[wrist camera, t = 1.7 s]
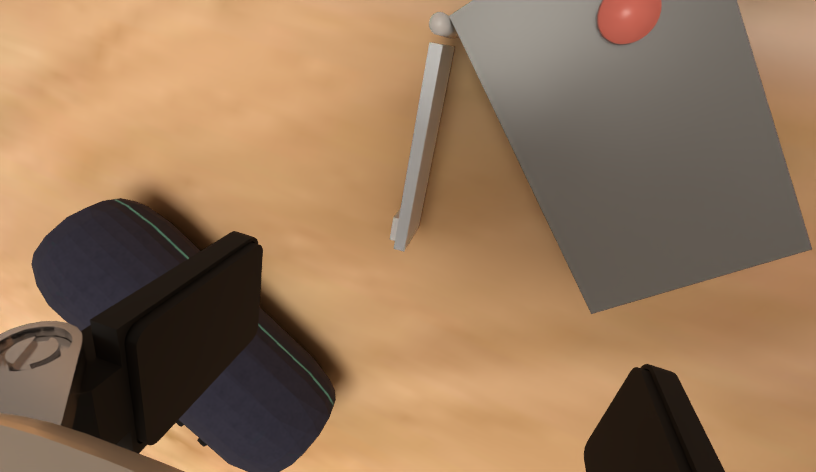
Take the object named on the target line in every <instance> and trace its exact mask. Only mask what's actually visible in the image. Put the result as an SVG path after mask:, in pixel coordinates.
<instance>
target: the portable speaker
mask: <svg viewBox="0 0 816 472" xmlns="http://www.w3.org/2000/svg"><path fill="white" fill-rule="evenodd" d="M198 252H200V250H199V249H198V248H197V247H196V246H195V245H194V244H193V243H192V242H191V241H190V240H189V239H187V238H186V237H185V236H184V235H183V234H182V233H181V232H180V231H179V230H178V229H177V228H176V227H175V226H174V225H173V224H172V223H170V222H169V221H167V220H166V219H165V218H163V217H162V216H160V215H159V214H158V213H156V212H155V211H153V210H152V209H151V208H149V207H147V206H145V205H143V204H140V203H138V202H135V201H131V200H126V199H121V198H120V199H113V200H106V201H102V202H99V203H97V204H94V205H92V206H89V207H87V208H85V209H83V210H81V211H79V212H77V213H75V214H73V215H71V216H69V217H67V218H66V219H65V220H63V221H62V222H61V223H60V224H59V225H58V226H57V227H55V228H54V229H53V230H52V231H51V232H50V233H49V234H48V235H46V236H45V238H44V239H43V241H42V242H41V243H40V245H39V246H38V248H37V249H36V251H35V252H34V254H33V259H32V268H33V272H34V276H35V280H36V284H37V287H38V288H39V290H40V292H41V293H42V295H43V297H44V298H45V300H46V302H47V303H48V305H49V306H50V307H51V308H52V309H53V310H54V311H55V312H56V313H57V314H59V315H60V316H61V317H62V318H63V319H64V320H65V321H66V322H68V323H69V324H71V325H73V326H75V327H77V328H78V329H79V330H80V331H82V330H83V329H85V328H86V327H88V326H90V325H91V324H90V319H92V318H93V317H95V316H97V315H98V314H100V313H101V312H103V311H105V310H106V309H108V308H109V307H111V306H113V305H114V304H116V303H118V302H119V301H121V300H122V299H124V298H126V297H127V296H129V295H131V294H132V293H134V292H135V291H137V290H139V289H140V288H142V287H143V286H145V285H147V284H148V283H150V282H152V281H153V280H155V279H156V278H158V277H160V276H161V275H163V274H164V273H166V272H168V271H169V270H171V269H173V268H174V267H176V266H177V265H179V264H181V263H182V262H184V261H186V260H187V259H189V258H190V257H192V256H194V255H195V254H197V253H198ZM334 403H335V390H334V388H333V385H332V383H331V381H330V379H329V378H328V376H327V375H326V374H325V372H324V371H323V370H322V369H321V367H320V366H319V365H318V363H317V362H316V361H315V359H314V358H313V357H312V356H311V355H310V354H308V353H307V352H306V351H305V350H304V349H303V348H302V347H301V346H300V345H299V344H298V343H297V342H296V341H295V340H294V339H293V338H292V337H291V336H290V335H289V334H287V333H286V332H285V331H284V330H283V329H282V328H281V327H280V326H279V325H278V324H277V323H276V322H275V321H274V320H273V319H272V318H271V317H270V316H269V315H267V314H266V313H265V312H264V311H263V310H262V309H261V308H260V307H259V322H258V330H257V333H256V335H255V337H254V338H253V340H252V341H251V342H250V343H249V344H248V345H247V346H246V348H245V349H244V350H243V351H242V352H241V353H240V354H239V355H238V356H237V357H236V358H235V359H234V360H233V361H232V363H231V364H230V365H229V366H228V367H227V368H226V369H225V370H224V371H223V372H222V373H221V374H220V375H219V377H218V378H217V379H216V380H215V381H214V382H213V383H212V384H211V385H210V386H209V387H208V388H207V389H206V391H205V392H204V393H203V394H202V395H201V396H200V397H199V398H198V399H197V400H196V401H195V402H194V403H193V404H192V406H191V407H190V408H189V409H188V410H187V411H186V412H185V413H184V414H183V415H182V416H181V417H180V418H179V420H178V421H177V422H176V423H177V424H178V425H179V426H181V427H182V426H183V425H185V426H186V427H187V428H188V429H190V430H191V431H192V432H193V433H194V434H195V435H196V436H198V437H199V439H198V440H197V441H198V442H199V443H200V444H201V445H202V446H206V445H208V446H209V447H210V448H211V449H212V450H214V451H215V452H216V453H217V454H218V455H219V456H220V457H222V458H223V459H224V460H225V461H226V462H227V463H228V464H230V465H233V466H235V467H238V468H240V469H243V470H245V471H247V472H280V471H282V470H284V469H285V468H287V467H289V466H290V465H292V464H293V463H294V462H295V461H296V460H297V459H298V458H299V457H300V456H302V455H303V454H304V453H305V451H306V450H307V449H308V448H309V447H310V445H311V444H312V443H313V442H314V441H315V439H316V438H317V437H318V436H319V434H320V433H321V431H322V429H323V428H324V426H325V424H326V422H327V421H328V419H329V417H330V414H331V411H332V409H333V406H334Z"/></svg>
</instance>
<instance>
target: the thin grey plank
mask: <svg viewBox="0 0 816 472" xmlns="http://www.w3.org/2000/svg"><path fill="white" fill-rule="evenodd" d="M454 49H455V47H454V46H449V45H444V44H437V43H431V42H430V43H429V48H428V54H427V60H426V66H425V71H424V77H423V83H422V88H421V94H420V100H419V106H418V111H417V117H416V123H415V129H414V134H413V140H412V146H411V152H410V157H409V163H408V169H407V175H406V180H405V186H404V192H403V198H402V203H401V208H400V210H399V211H398V212H397V213H396V215H395V216H394V217H393V223H392V229H391V235H390V240H394V241H395V244H394V249H397V250H400V251H405V249H406V248H407V246H408V244H409V243H410V241H411V239H412V238H413V236H414V234H415V233H416V231H417V229H418V228H419V224H420V219H421V214H422V209H423V204H424V199H425V194H426V189H427V184H428V179H429V174H430V169H431V164H432V159H433V154H434V149H435V144H436V139H437V134H438V129H439V124H440V119H441V114H442V109H443V104H444V99H445V94H446V89H447V84H448V79H449V74H450V69H451V64H452V59H453V54H454Z"/></svg>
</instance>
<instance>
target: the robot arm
mask: <svg viewBox="0 0 816 472" xmlns="http://www.w3.org/2000/svg"><path fill="white" fill-rule="evenodd" d="M262 256H263V248H262V246H261V245H258V241H257V239H256V238H255V237H252V236H249V235H245V234H242V233H239V232H235V231H233V232H231V233H229V234H228V235H226V236H224V237H223V238H221V239H219V240H218V241H216V242H215V243H213V244H211V245H210V246H208V247H207V248H205V249H203V250H202V251H200V252H198V253H197V254H195V255H194V256H192V257H190V258H189V259H187V260H186V261H184V262H182V263H181V264H179V265H177V266H176V267H174V268H173V269H171V270H169V271H168V272H166V273H164V274H163V275H161V276H160V277H158V278H156V279H155V280H153V281H152V282H150V283H148V284H147V285H145V286H143V287H142V288H140V289H139V290H137V291H135V292H134V293H132V294H131V295H129V296H127V297H126V298H124V299H122V300H121V301H119V302H118V303H116V304H114V305H113V306H111V307H109V308H108V309H106V310H105V311H103V312H101V313H100V314H98V315H97V316H95V317H93V318H92V319H90V324H91V325H90V326H88V327H86V328H85V329H83V330H82V331H80V330H79V329H78V328H77V327H75V326H73V325H71V324H69V323H64V322H58V321H42V322H36V323H31V324H26V325H22V326H19V327H16V328H13V329H10V330H8V331H6V332H4V333H2V334H0V472H184V471H181V470H179V469H177V468H174V467H172V466H169V465H167V464H164V463H162V462H159V461H157V460H154V459H151V458H149V457H146V456H143V455H141V454H139V453H140V452H141V451H142V450H143V449H144V448H145V446H146V445H147V444H148V445H154V444H155V443H157V442H158V441H159V440H160V439H161V438H162V437H163V436H164V435H165V434H166V432H167V431H168V430H169V429H170V428H171V427H172V426H173V425H174V424H175V423H176V422H177V421H178V420H179V418H180V417H181V416H182V415H183V414H184V413H185V412H186V411H187V410H188V409H189V408H190V407H191V406H192V404H193V403H194V402H195V401H196V400H197V399H198V398H199V397H200V396H201V395H202V394H203V393H204V392H205V391H206V389H207V388H208V387H209V386H210V385H211V384H212V383H213V382H214V381H215V380H216V379H217V378H218V377H219V375H220V374H221V373H222V372H223V371H224V370H225V369H226V368H227V367H228V366H229V365H230V364H231V363H232V361H233V360H234V359H235V358H236V357H237V356H238V355H239V354H240V353H241V352H242V351H243V350H244V349H245V348H246V346H247V345H248V344H249V343H250V342H251V341H252V340H253V338H254V337H255V335H256V333H257V330H258V322H259V306H260V289H261V272H262ZM584 462H585V468H586V472H725V471H724V469H723V467H722V465H721V463H720V461H719V459H718V457H717V455H716V453H715V451H714V449H713V447H712V445H711V443H710V441H709V439H708V437H707V435H706V433H705V431H704V429H703V427H702V425H701V423H700V421H699V419H698V417H697V415H696V413H695V411H694V409H693V407H692V405H691V403H690V401H689V399H688V397H687V395H686V393H685V391H684V389H683V387H682V385H681V383H680V381H679V379H678V377H677V375H676V374H675V373H673V372H671V371H668V370H665V369H662V368H658V367H655V366H652V365H649V364H645V365H643V366H642V367H641V368H638V367H635V368H633V369H632V370H631V372H630V373H629V375H628V377H627V378H626V380H625V381H624V383H623V385H622V386H621V388H620V389H619V391H618V393H617V394H616V396H615V398H614V399H613V401H612V402H611V404H610V406H609V407H608V409H607V411H606V412H605V414H604V415H603V417H602V419H601V420H600V422H599V423H598V425H597V427H596V428H595V430H594V432H593V433H592V435H591V436H590V438H589V440H588V441H587V443H586V446H585V450H584Z"/></svg>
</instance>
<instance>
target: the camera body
mask: <svg viewBox="0 0 816 472" xmlns="http://www.w3.org/2000/svg"><path fill="white" fill-rule="evenodd" d="M429 27H430V30H431V31H432V32H433V33H434V34H436V35H440V36H444V37H448V38H456V37H458V36H459V38H460V40H461V42H462V44H463V46H464V48H465V50H466V52H467V54H468V57H469V59H470V61H471V63H472V65H473V67H474V69H475V71H476V73H477V75H478V78H479V80H480V82H481V84H482V86H483V88H484V90H485V92H486V94H487V96H488V98H489V101H490V103H491V105H492V107H493V109H494V111H495V113H496V115H497V117H498V119H499V122H500V124H501V126H502V128H503V130H504V132H505V134H506V136H507V138H508V140H509V143H510V145H511V147H512V149H513V151H514V153H515V155H516V157H517V159H518V161H519V163H520V166H521V168H522V170H523V172H524V174H525V176H526V178H527V180H528V182H529V184H530V187H531V189H532V191H533V193H534V195H535V197H536V199H537V201H538V203H539V205H540V207H541V210H542V212H543V214H544V216H545V218H546V220H547V222H548V224H549V226H550V228H551V231H552V233H553V235H554V237H555V239H556V241H557V243H558V245H559V247H560V249H561V251H562V254H563V256H564V258H565V260H566V262H567V264H568V266H569V268H570V270H571V272H572V275H573V277H574V279H575V281H576V283H577V285H578V287H579V289H580V291H581V293H582V295H583V298H584V300H585V302H586V304H587V306H588V308H589V310H590V312H591V314H593V313H596V312H600V311H603V310H607V309H610V308H614V307H617V306H620V305H624V304H627V303H631V302H634V301H637V300H641V299H644V298H648V297H651V296H654V295H658V294H661V293H665V292H668V291H672V290H675V289H678V288H682V287H685V286H689V285H692V284H695V283H699V282H702V281H706V280H709V279H713V278H716V277H719V276H723V275H726V274H730V273H733V272H736V271H740V270H743V269H747V268H750V267H753V266H757V265H760V264H764V263H767V262H771V261H774V260H777V259H781V258H784V257H788V256H791V255H794V254H798V253H801V252H805V251H808V250H812V247H811V244H810V240H809V237H808V234H807V230H806V227H805V224H804V220H803V217H802V214H801V211H800V207H799V204H798V201H797V197H796V194H795V191H794V188H793V184H792V181H791V178H790V174H789V171H788V168H787V164H786V161H785V158H784V155H783V151H782V148H781V145H780V141H779V138H778V135H777V132H776V128H775V125H774V122H773V118H772V115H771V112H770V108H769V105H768V102H767V99H766V95H765V92H764V89H763V85H762V82H761V79H760V75H759V72H758V69H757V66H756V62H755V59H754V56H753V52H752V49H751V46H750V43H749V39H748V36H747V33H746V29H745V26H744V23H743V19H742V16H741V13H740V10H739V6H738V3H737V0H472V1H471V2H469V3H468V4H466V5H465V6H463V7H462V8H460V9H459V10H457V11H456V12H454V13H453V14H451V15H450V16H448V15H446V14H445V13H442V12H437V13H435V14H433V15H432V16H431V18H430V21H429Z"/></svg>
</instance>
